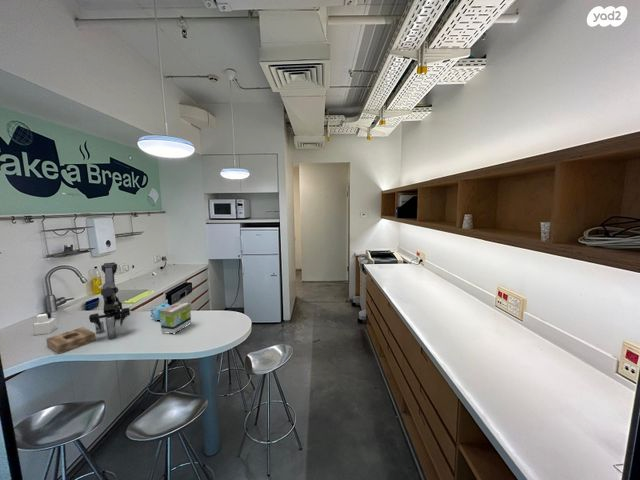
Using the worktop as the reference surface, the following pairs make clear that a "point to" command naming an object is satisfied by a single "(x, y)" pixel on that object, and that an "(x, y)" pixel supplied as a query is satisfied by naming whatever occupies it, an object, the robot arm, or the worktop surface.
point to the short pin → (99, 329)
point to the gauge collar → (70, 340)
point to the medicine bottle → (44, 324)
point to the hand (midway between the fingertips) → (111, 328)
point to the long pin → (111, 327)
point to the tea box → (175, 317)
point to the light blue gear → (158, 310)
